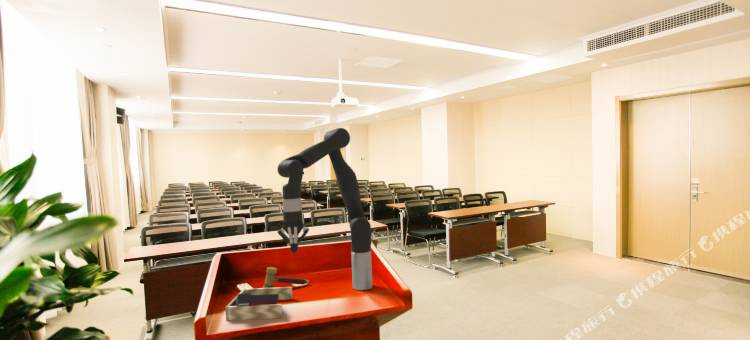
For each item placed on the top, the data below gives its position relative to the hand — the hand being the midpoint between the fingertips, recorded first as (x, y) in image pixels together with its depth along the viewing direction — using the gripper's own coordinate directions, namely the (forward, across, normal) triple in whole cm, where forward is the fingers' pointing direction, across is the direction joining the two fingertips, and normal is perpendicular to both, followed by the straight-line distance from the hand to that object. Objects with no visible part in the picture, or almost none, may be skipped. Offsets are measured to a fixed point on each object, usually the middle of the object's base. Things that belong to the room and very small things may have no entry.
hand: (294, 252), depth 151 cm
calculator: (+19, +8, +1) cm, 20 cm away
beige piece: (+22, +14, -1) cm, 27 cm away
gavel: (+24, +10, -24) cm, 36 cm away
